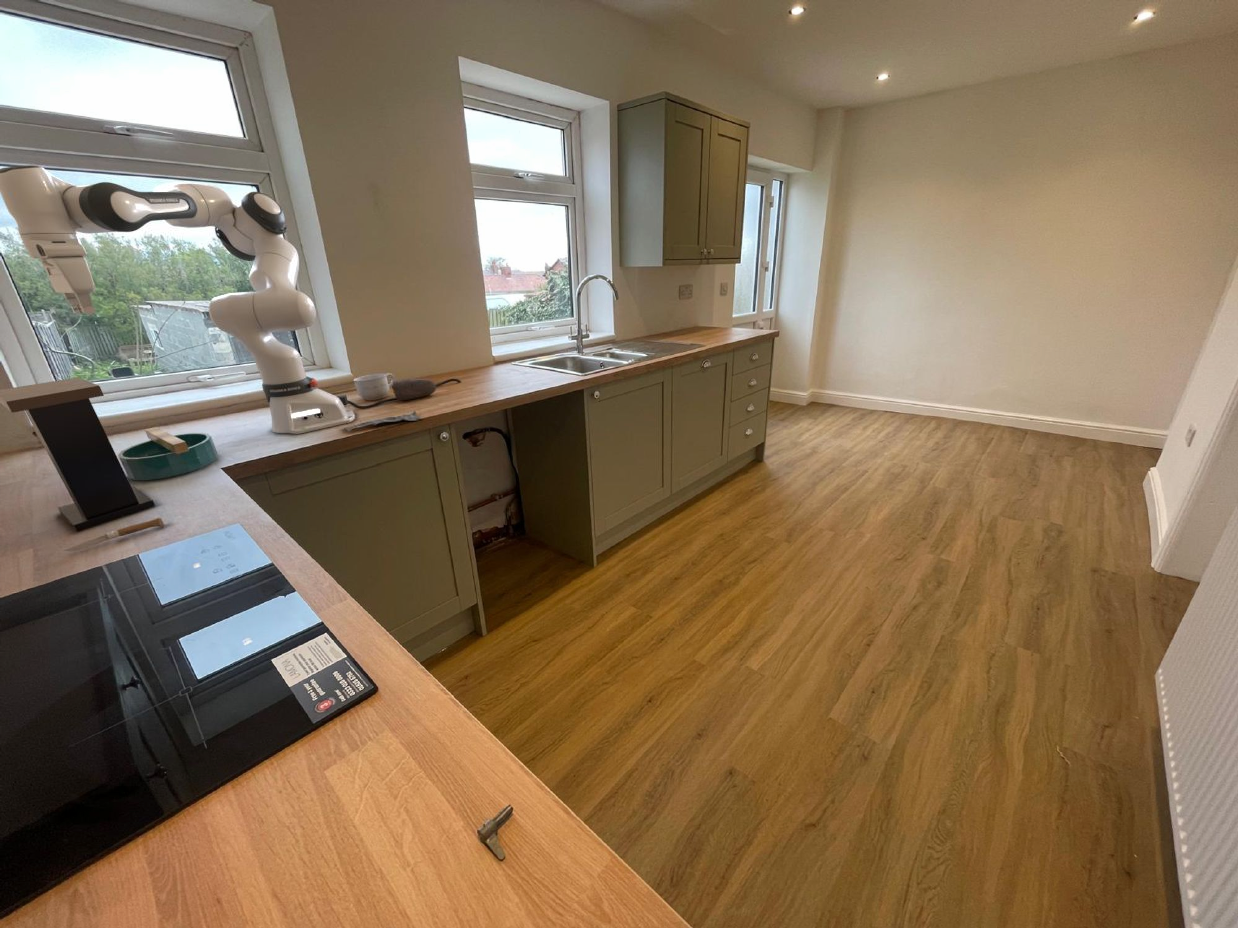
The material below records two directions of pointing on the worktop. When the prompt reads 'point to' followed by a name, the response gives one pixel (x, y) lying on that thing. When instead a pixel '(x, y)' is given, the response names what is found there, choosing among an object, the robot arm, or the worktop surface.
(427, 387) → the grey rounded oblong body
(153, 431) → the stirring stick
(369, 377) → the teacup
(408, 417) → the driftwood
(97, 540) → the folding knife
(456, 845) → the worktop surface
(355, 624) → the worktop surface
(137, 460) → the bowl
